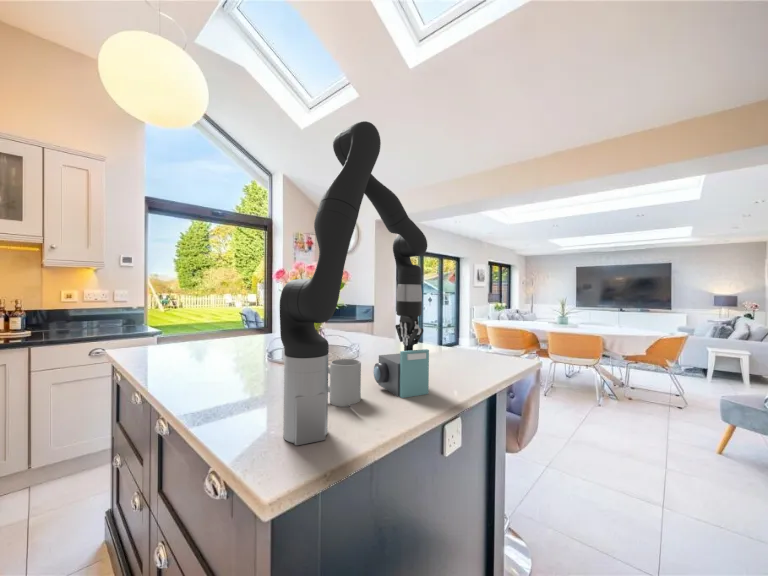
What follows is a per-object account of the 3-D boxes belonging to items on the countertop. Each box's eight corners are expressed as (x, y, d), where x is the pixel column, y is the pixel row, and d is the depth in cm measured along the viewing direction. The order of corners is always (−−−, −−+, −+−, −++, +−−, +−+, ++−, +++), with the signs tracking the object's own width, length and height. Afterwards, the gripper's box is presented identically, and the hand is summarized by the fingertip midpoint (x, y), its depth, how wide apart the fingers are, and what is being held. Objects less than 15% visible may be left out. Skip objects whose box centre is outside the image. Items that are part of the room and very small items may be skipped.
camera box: (427, 394, 99) (427, 358, 99) (388, 400, 93) (389, 361, 93) (405, 382, 111) (405, 350, 111) (370, 387, 105) (370, 353, 105)
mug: (361, 396, 96) (362, 359, 96) (359, 407, 87) (359, 365, 87) (320, 396, 96) (321, 358, 96) (314, 406, 87) (314, 365, 87)
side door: (429, 394, 97) (430, 350, 97) (403, 398, 93) (403, 352, 93) (426, 392, 98) (426, 349, 98) (399, 396, 94) (400, 351, 94)
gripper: (432, 300, 95) (431, 361, 95) (408, 299, 106) (407, 352, 106) (409, 300, 91) (408, 363, 91) (388, 299, 103) (387, 354, 103)
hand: (408, 357), depth 99 cm, fingers closed
